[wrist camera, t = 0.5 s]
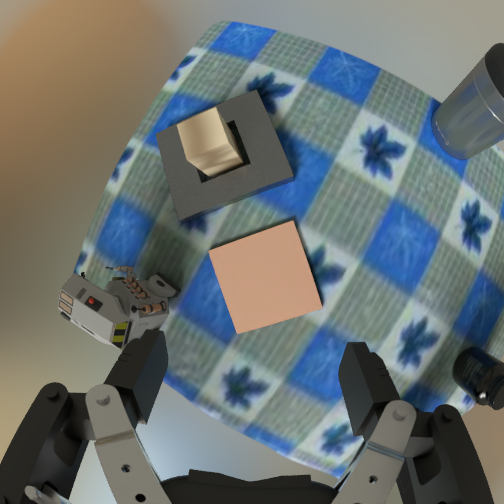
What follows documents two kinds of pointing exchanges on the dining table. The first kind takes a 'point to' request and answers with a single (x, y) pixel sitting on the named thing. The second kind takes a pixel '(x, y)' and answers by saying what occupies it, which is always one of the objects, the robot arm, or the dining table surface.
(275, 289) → the terracotta tile
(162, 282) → the figurine
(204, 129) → the beech peg
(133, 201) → the dining table surface
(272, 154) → the socket block
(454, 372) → the supplement bottle
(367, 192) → the dining table surface
